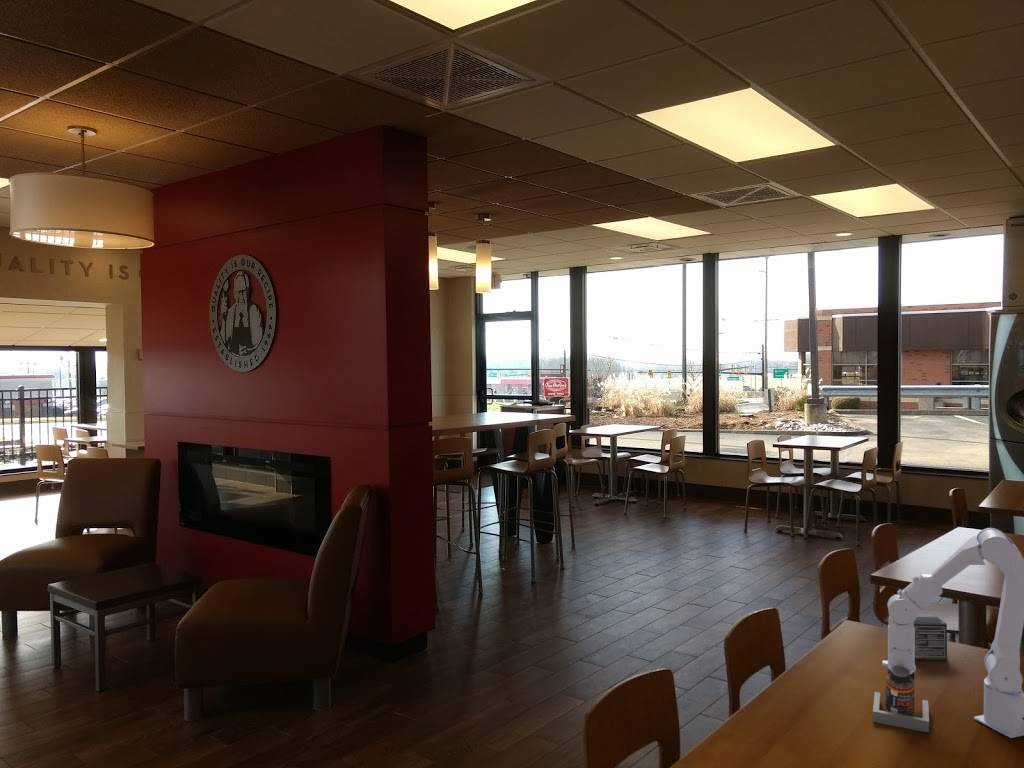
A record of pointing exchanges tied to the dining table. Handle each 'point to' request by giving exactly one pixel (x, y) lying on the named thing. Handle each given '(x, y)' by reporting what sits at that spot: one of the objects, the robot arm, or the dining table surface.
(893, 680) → the supplement bottle
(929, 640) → the small box
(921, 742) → the dining table surface
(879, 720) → the grey u-shaped bracket
